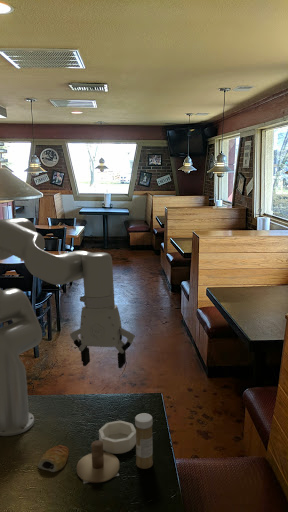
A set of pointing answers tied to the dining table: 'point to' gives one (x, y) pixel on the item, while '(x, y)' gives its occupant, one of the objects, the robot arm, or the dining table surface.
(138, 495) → the dining table surface
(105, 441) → the bowl
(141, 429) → the sprinkles bottle
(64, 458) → the pastry
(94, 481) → the lid
